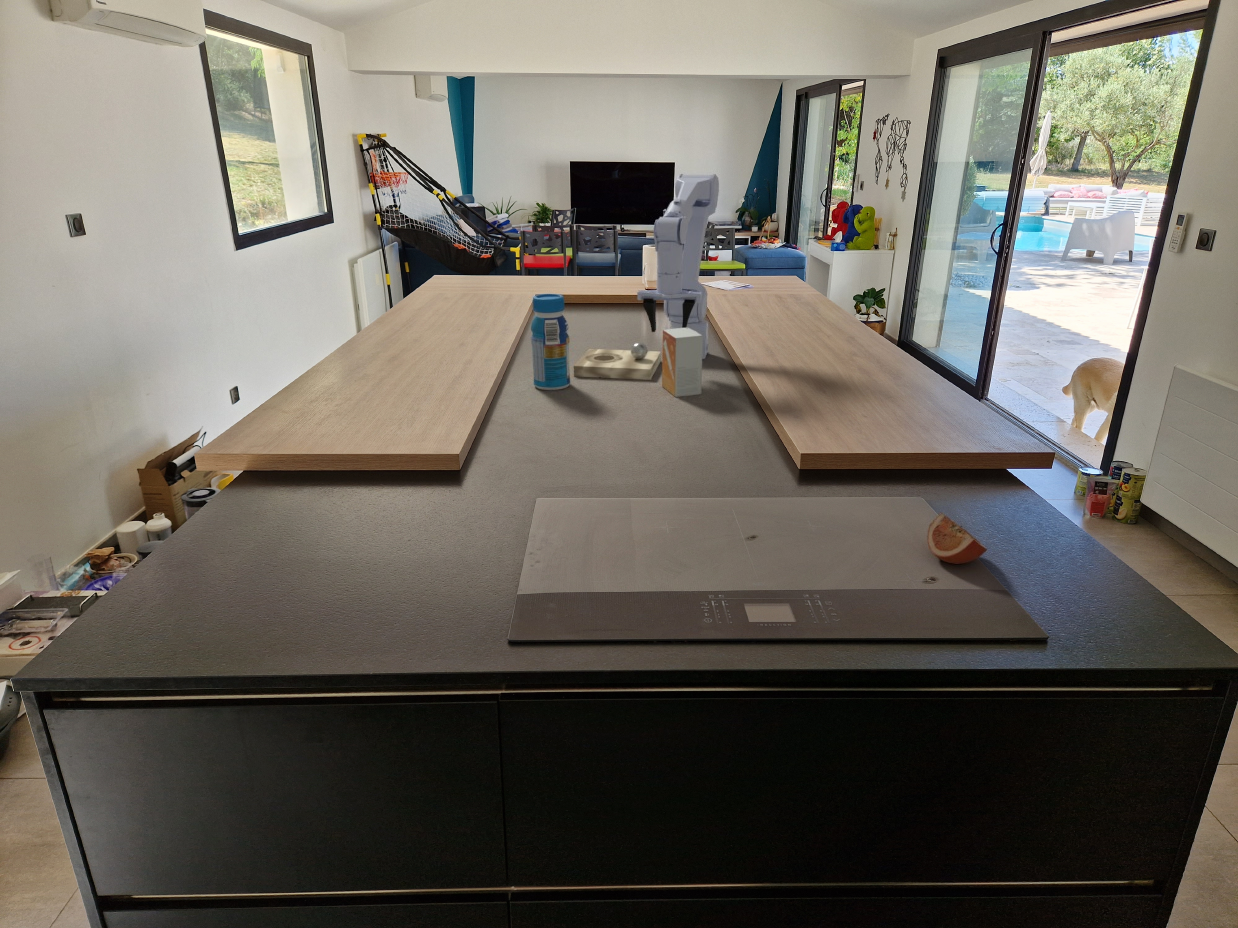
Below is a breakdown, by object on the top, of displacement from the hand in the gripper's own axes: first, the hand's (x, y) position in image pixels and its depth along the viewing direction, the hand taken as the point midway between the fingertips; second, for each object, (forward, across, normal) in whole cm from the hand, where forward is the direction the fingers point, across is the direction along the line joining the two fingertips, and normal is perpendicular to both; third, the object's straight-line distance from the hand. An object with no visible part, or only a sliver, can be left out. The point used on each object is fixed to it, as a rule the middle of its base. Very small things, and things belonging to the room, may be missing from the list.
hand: (668, 331), depth 189 cm
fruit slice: (+10, +50, -83) cm, 97 cm away
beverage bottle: (+10, -24, -16) cm, 30 cm away
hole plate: (+9, -12, 0) cm, 15 cm away
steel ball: (+5, -7, 0) cm, 9 cm away
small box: (+10, +5, -15) cm, 18 cm away
